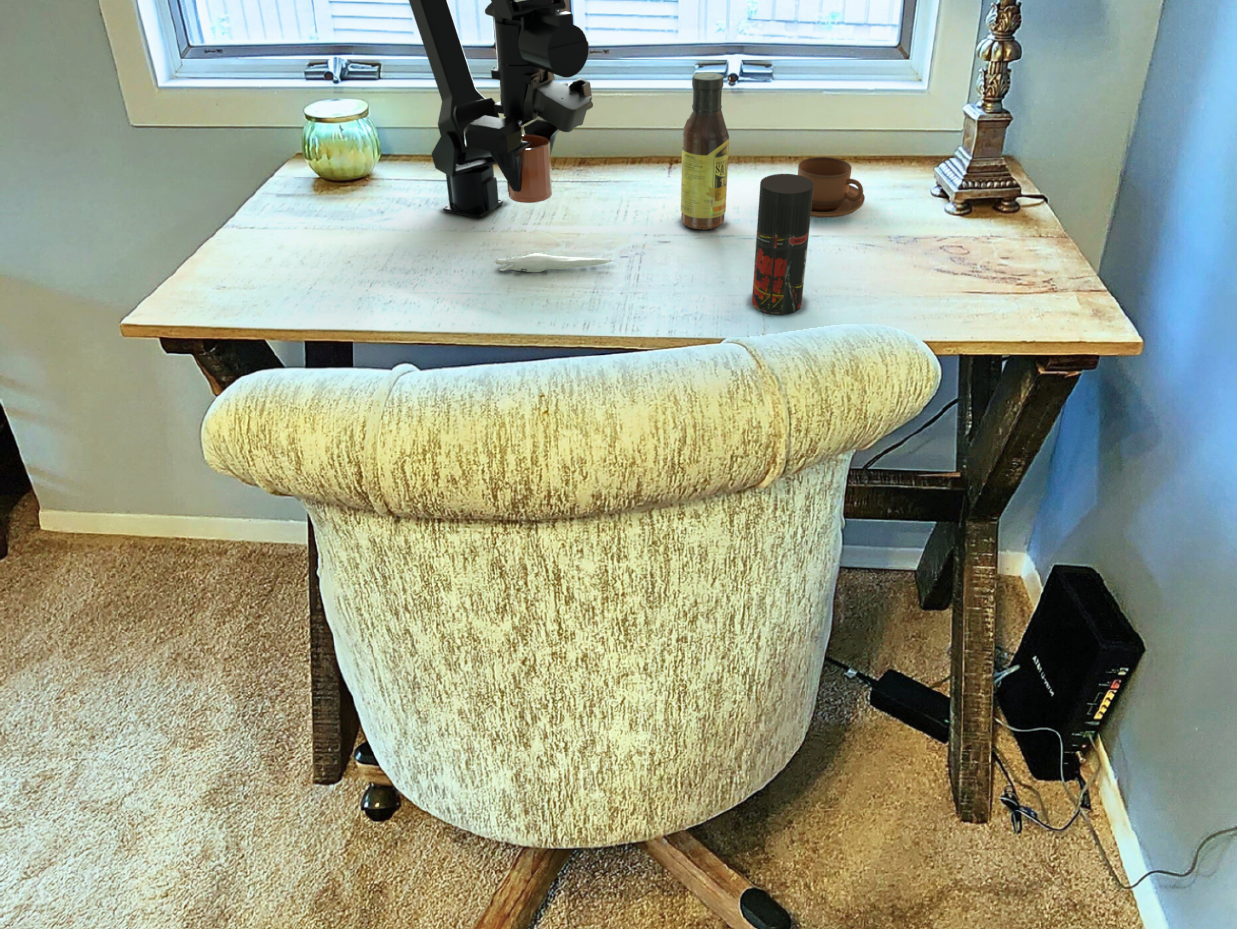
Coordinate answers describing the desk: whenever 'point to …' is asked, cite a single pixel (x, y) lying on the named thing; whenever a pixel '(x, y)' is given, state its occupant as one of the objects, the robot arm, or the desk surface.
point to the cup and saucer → (831, 187)
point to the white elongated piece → (547, 262)
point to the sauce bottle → (705, 156)
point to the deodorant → (781, 243)
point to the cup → (534, 171)
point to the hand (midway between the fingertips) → (529, 183)
